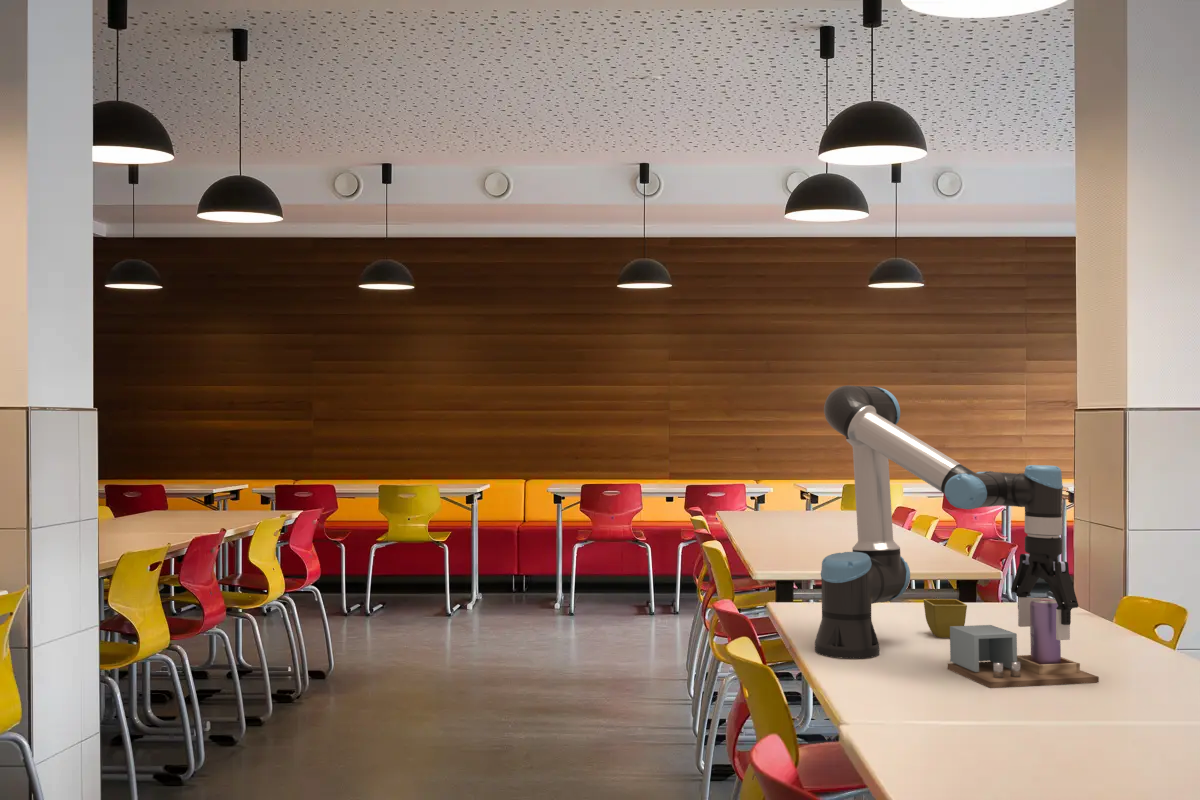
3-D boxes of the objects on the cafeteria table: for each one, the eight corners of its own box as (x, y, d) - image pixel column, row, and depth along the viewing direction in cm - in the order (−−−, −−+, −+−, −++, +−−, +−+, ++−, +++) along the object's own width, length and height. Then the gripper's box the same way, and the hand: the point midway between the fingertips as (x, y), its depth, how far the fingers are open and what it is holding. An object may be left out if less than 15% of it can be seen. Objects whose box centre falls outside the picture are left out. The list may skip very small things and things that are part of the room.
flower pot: (968, 640, 251) (967, 604, 252) (933, 640, 251) (933, 604, 252) (956, 633, 260) (956, 598, 260) (923, 633, 260) (922, 598, 261)
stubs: (996, 678, 206) (996, 664, 207) (991, 676, 208) (991, 662, 208) (1022, 677, 207) (1022, 662, 208) (1017, 675, 209) (1016, 660, 210)
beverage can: (1064, 672, 211) (1062, 602, 212) (1034, 671, 213) (1033, 601, 213) (1057, 666, 217) (1055, 597, 218) (1028, 665, 218) (1026, 597, 219)
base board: (990, 688, 203) (990, 672, 204) (947, 668, 220) (947, 654, 220) (1098, 682, 208) (1098, 667, 208) (1048, 664, 224) (1048, 650, 225)
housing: (974, 671, 211) (974, 635, 211) (950, 661, 221) (949, 626, 221) (1017, 669, 213) (1016, 633, 213) (991, 659, 223) (990, 624, 223)
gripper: (1096, 542, 204) (1096, 645, 204) (1024, 529, 229) (1024, 620, 229) (1064, 542, 203) (1064, 646, 203) (995, 529, 228) (995, 621, 227)
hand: (1043, 632), depth 216 cm, fingers open, 13 cm apart
